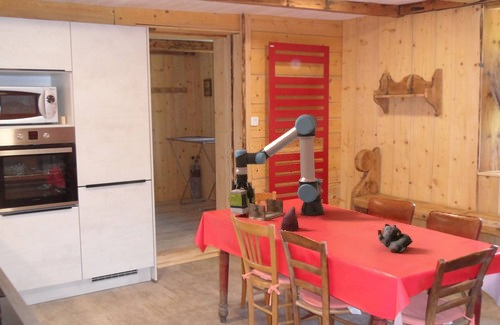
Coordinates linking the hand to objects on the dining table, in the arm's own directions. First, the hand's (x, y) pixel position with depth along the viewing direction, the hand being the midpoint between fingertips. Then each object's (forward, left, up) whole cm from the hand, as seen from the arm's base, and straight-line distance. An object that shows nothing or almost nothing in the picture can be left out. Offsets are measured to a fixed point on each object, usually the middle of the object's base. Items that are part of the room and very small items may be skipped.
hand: (243, 207), depth 356 cm
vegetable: (-47, +16, -5) cm, 50 cm away
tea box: (0, 0, -3) cm, 3 cm away
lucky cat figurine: (-114, +25, -5) cm, 116 cm away
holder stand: (-16, -4, -5) cm, 17 cm away
